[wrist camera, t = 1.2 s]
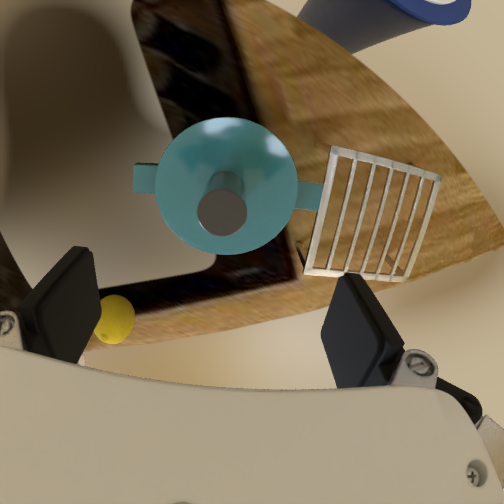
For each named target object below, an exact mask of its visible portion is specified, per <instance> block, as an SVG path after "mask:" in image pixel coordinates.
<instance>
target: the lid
mask: <svg viewBox="0 0 504 504" xmlns="http://www.w3.org/2000/svg"><path fill="white" fill-rule="evenodd" d="M155 194H156V200H157V204H158V207H159V210H160V212H161V214H162V216H163V218H164V220H165V222H166V223H167V225H168V226H169V227H170V228H171V230H172V231H173V232H174V233H175V234H176V235H177V236H178V237H179V238H181V239H182V240H183V241H185V242H186V243H188V244H189V245H191V246H193V247H195V248H197V249H200V250H202V251H206V252H209V253H214V254H223V255H231V254H239V253H245V252H248V251H251V250H254V249H256V248H258V247H261V246H262V245H264V244H266V243H267V242H269V241H270V240H271V239H273V238H274V237H275V236H276V235H277V234H278V233H279V232H280V231H281V230H282V229H283V228H284V226H285V225H286V224H287V222H288V221H289V219H290V217H291V215H292V213H293V211H294V208H295V205H296V201H297V196H298V176H297V170H296V167H295V164H294V161H293V159H292V157H291V155H290V153H289V151H288V150H287V148H286V147H285V145H284V144H283V143H282V142H281V141H280V139H279V138H278V137H276V136H275V135H274V134H273V133H272V132H271V131H269V130H268V129H266V128H265V127H263V126H261V125H259V124H257V123H255V122H252V121H249V120H246V119H241V118H236V117H219V118H212V119H208V120H204V121H202V122H199V123H196V124H194V125H192V126H191V127H189V128H187V129H186V130H184V131H183V132H182V133H180V134H179V135H178V136H177V137H176V138H175V139H174V140H173V141H172V142H171V143H170V145H169V146H168V147H167V149H166V150H165V152H164V154H163V155H162V157H161V160H160V162H159V165H158V168H157V172H156V178H155Z"/></svg>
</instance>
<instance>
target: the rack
mask: <svg viewBox="0 0 504 504" xmlns="http://www.w3.org/2000/svg"><path fill="white" fill-rule="evenodd" d="M315 146H316V147H317V148H319V149H322V150H324V151H326V152H328V153H329V156H328V161H327V166H326V171H325V176H324V181H323V185H324V186H323V190H322V195H321V200H320V204H319V209H318V211H317V214H316V218H315V223H314V227H313V231H312V236H311V240H310V244H309V248H308V252H307V255H306V253H305V251H304V248H303V246H302V244H301V243H300V242H297V243H296V244H295V247H296V250H297V252H298V255H299V257H300V260H301V262H302V265H303V268H304V269H303V274H304V275H316V276H328V277H340V276H343V275H344V273H346V272H349V273H360V274H361V276H362V277H363V279H365V280H378V281H392V282H407V280H408V278H409V275H410V273H411V270H412V268H413V265H414V263H415V260H416V257H417V255H418V252H419V249H420V246H421V244H422V241H423V238H424V235H425V232H426V229H427V226H428V223H429V220H430V217H431V214H432V210H433V207H434V204H435V200H436V197H437V193H438V190H439V186H440V182H441V178H442V175H439V174H436V173H433V172H430V171H427V170H425V169H423V168H420V167H418V166H416V165H413V164H405V163H401V162H398V161H394V160H391V159H387V158H384V157H380V156H376V155H372V154H368V153H364V152H360V151H356V150H352V149H347V148H343V147H338V146H334V145H330V144H327V143H324V142H322V141H316V143H315ZM338 156H342V157H347V158H352V162H351V167H350V172H349V176H348V181H347V185H346V190H345V194H344V198H343V203H342V207H341V211H340V215H339V219H338V223H337V227H336V231H335V235H334V238H333V242H332V246H331V250H330V253H329V257H328V260H327V264H326V268H320V267H313V264H314V260H315V256H316V252H317V248H318V244H319V240H320V236H321V232H322V228H323V224H324V219H325V215H326V211H327V207H328V202H329V198H330V193H331V189H332V184H333V179H334V174H335V170H336V165H337V160H338ZM357 160H360V161H365V162H369V163H371V166H370V171H369V175H368V179H367V184H366V188H365V192H364V196H363V200H362V204H361V208H360V212H359V216H358V219H357V223H356V227H355V230H354V234H353V237H352V241H351V244H350V248H349V251H348V254H347V258H346V261H345V264H344V267H343V270H342V269H331V268H330V267H331V264H332V260H333V257H334V253H335V250H336V246H337V242H338V239H339V235H340V231H341V227H342V224H343V220H344V216H345V212H346V208H347V204H348V200H349V195H350V191H351V187H352V182H353V178H354V174H355V169H356V164H357ZM376 164H377V165H381V166H385V167H388V168H389V169H388V173H387V177H386V182H385V186H384V190H383V194H382V197H381V201H380V205H379V209H378V212H377V216H376V219H375V223H374V226H373V230H372V233H371V236H370V240H369V243H368V246H367V249H366V252H365V256H364V259H363V262H362V265H361V268H360V271H353V270H348V267H349V264H350V261H351V258H352V254H353V251H354V248H355V244H356V241H357V238H358V234H359V231H360V227H361V224H362V220H363V216H364V213H365V209H366V205H367V201H368V197H369V193H370V189H371V185H372V181H373V177H374V172H375V168H376ZM394 169H396V170H400V171H403V172H405V175H404V179H403V183H402V187H401V191H400V194H399V198H398V202H397V205H396V209H395V212H394V216H393V219H392V222H391V226H390V229H389V232H388V235H387V239H386V242H385V245H384V248H383V251H382V254H381V257H380V260H379V262H378V265H377V268H376V271H375V272H364V270H365V267H366V264H367V261H368V258H369V255H370V252H371V249H372V246H373V243H374V240H375V237H376V233H377V230H378V227H379V223H380V220H381V216H382V213H383V209H384V206H385V202H386V198H387V194H388V191H389V187H390V183H391V179H392V174H393V170H394ZM410 174H414V175H417V176H420V179H419V183H418V187H417V191H416V194H415V198H414V201H413V205H412V208H411V212H410V215H409V218H408V222H407V225H406V228H405V231H404V234H403V237H402V240H401V243H400V246H399V249H398V252H397V255H396V257H395V260H394V261H393V259H392V258H391V257H390V256H389V255H388V254H387V250H388V247H389V244H390V241H391V238H392V235H393V232H394V229H395V226H396V223H397V219H398V216H399V212H400V209H401V206H402V202H403V198H404V195H405V191H406V187H407V183H408V179H409V175H410ZM425 178H427V179H430V180H432V181H433V183H432V187H431V191H430V195H429V198H428V202H427V205H426V208H425V212H424V215H423V218H422V221H421V225H420V228H419V231H418V234H417V237H416V240H415V242H414V245H413V248H412V251H411V254H410V256H409V259H408V262H407V264H406V267H405V270H404V272H403V271H402V270H401V269H400V267H399V266H398V262H399V260H400V257H401V254H402V251H403V248H404V246H405V243H406V240H407V237H408V234H409V231H410V228H411V224H412V221H413V218H414V215H415V212H416V208H417V205H418V201H419V198H420V194H421V190H422V187H423V183H424V179H425ZM384 259H385V261H386V262H387V263H388V264H389V265H390V267H391V271H390V274H387V273H380V270H381V268H382V265H383V262H384ZM394 273H396V274H394Z"/></svg>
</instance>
